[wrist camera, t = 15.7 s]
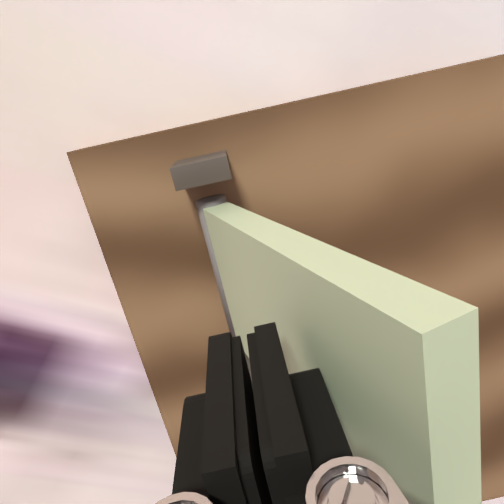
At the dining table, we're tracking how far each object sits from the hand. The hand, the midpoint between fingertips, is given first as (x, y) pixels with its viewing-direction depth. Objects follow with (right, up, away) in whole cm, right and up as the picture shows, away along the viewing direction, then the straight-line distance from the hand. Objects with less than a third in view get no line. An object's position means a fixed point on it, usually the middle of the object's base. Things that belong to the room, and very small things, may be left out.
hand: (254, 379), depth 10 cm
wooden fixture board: (+4, -2, +11) cm, 11 cm away
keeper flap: (-1, +2, +7) cm, 7 cm away
